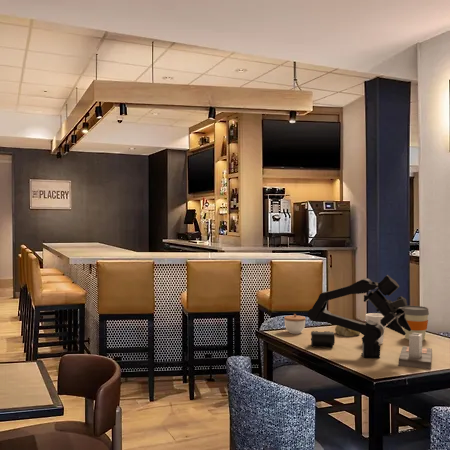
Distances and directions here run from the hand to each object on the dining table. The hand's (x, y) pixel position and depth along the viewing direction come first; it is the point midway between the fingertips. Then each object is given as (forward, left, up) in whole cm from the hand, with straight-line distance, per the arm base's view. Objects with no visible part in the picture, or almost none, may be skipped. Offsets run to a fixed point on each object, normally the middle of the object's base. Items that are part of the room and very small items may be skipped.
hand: (407, 332), depth 224 cm
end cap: (-31, +24, -12) cm, 42 cm away
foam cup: (-5, +33, -12) cm, 36 cm away
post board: (+4, +3, -12) cm, 13 cm away
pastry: (-15, +52, -12) cm, 55 cm away
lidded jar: (-41, +53, -12) cm, 69 cm away
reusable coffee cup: (+16, +43, -12) cm, 48 cm away
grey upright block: (+3, -2, -9) cm, 10 cm away
